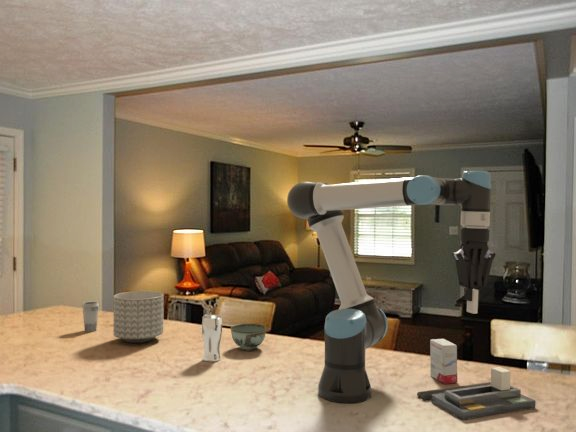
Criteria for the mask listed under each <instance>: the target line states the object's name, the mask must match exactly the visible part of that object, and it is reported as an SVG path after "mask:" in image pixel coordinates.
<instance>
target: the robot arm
mask: <svg viewBox="0 0 576 432" xmlns="http://www.w3.org/2000/svg"><path fill="white" fill-rule="evenodd" d="M491 176H492V175H491V173H490V172H489V171H485V170H466V171H465V170H464V171H463V172H462V175H461V177H458V178H457V177H456V178H443V177H442V178H440V177H434V176H431V175H429V174H420V175H417V176H414V177H412V176H411V177H400V178H399V177H398V178H389V179H379V180H370V181H369V180H367V181H357V182H356V181H355V182H346V183H336V184H329V183H327V182H321V181H320V182H311V181H301V182H299V183H296V184H294V185H293V186H292V187H291V188H290V190H289V192H288V195H287V198H286V199H287V200H286V204H287V207H288V209H289V211H290V212H291V214H293V215H294V216H295V217H296V218H300V219H302V220H306V221H307V224H308V227H309V229H310V230H312V231H313V232H315V233H316V235H317V238H318V242H319V244H320V247H321V250H322V252H323V255H324V259H325V261H326V264H327V266H328V270H329V272H330V277H331V278H332V281H333V284H334V287H335V289H336V292H337V295H338V297H339V301H340V305H339V308H338V309H335V310H332V311H329V313H328V314H327V315H326V316H325V320H324V321H325V322H324V326H323V328H324V366H323V369H322V373H321V376H320V379H319V382H318V384H317V385H318V387H317V388H318V389H317V393H318V395H319V396H320V398H323V399H324V400H328V401H329V402H330V401H331V402H335V403H342V404H355V403H356V404H357V403H361V402H364V401H367V400H369V399H370V398H372V385H371V382H370V379H369V376H368V372H367V370H366V350H367V349H368V348H371V347H372V346H376V345H377V344H378V343H380V342H381V340H383V338H384V337H385V336H386V334H387V332H388V327H389V323H388V318H387V316H386V313H385V312H384V311H383V310H382V309H381V308H379V307H378V305H377V304H376V302H375V301H376V300H375V299H374V297H372V296H371V295H369V294H368V293H367V290H366V288H365V284H364V282H363V280H362V277H361V274H360V271H359V268H358V265H357V263H356V259H355V257H354V255H353V251H352V248H351V246H350V244H349V241H348V239H347V236H346V233H345V230H344V227H343V224H342V222H343V220H344V217H345V215H344V214H343V213H344V212H343V211H344V210H347V211H348V210H360V209H362V210H363V209H376V208H392V207H393V208H394V207H404V206H425V205H427V206H460V208H461V211H460V226H462V227H461V228H460V232H459V233H460V234H459V236H460V237H459V239H460V241H461V244H460V247H459V249H458V250H457V251H456V252H454V251H453V252H452V253H451V254H452V258H453V259H454V261H455V262H454V263H455V268H456V274H457V278H458V284H459V286H460V287H462V288H463V289H464V290H465V295H464V296H465V297H464V298H465V301H466V312H467V313H470V314H478V311H479V310H478V309H479V302H480V300H481V291H482V290H484V288H486V287H488V281H489V279H490V278H489V276H490V273H491V269H492V264H493V261H494V260H495V258H496V255H497V254H496V253H495V252H492V251H491V250H489V245H488V242H490V231H491V230H490V229H489V228H488V227H490V226H491V221H490V220H491V201H492V200H491V199H492V198H491V197H492V180H491V179H492V177H491Z"/></svg>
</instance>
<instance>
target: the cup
mask: <svg viewBox="0 0 576 432" xmlns="http://www.w3.org/2000/svg"><path fill="white" fill-rule="evenodd" d="M81 306H82V314H83V317H82V318H83V325H84V332H86V333H90V332H91V333H92V332H96V331H97V326H98V317H99V306H100V304H99V301H95V300H94V301H92V300H91V301H84V302H83V303H82V304H81Z"/></svg>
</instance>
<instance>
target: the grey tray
mask: <svg viewBox="0 0 576 432" xmlns="http://www.w3.org/2000/svg"><path fill="white" fill-rule="evenodd" d="M521 392H522V391H521V389H519V388H518V387H515V386H513V385H511V384H510V389H509V390H503V391H496V392H491V384H490V385H483V386H475V387H468V388H461V389H454V390H447V391H445V393H439V394H432V395H431V399H430V400H431V403H433V404H434V405H436V406H438V407H440V409H443V410H444V411H446V412H448V413H450V414H451V415H453V416H455V417H456V418H458V419H460V420H462V421H466V420H472V419H478V418H484V416H485V417H490V415H491V416H494V415H495V416H496V415H503V414H505V413H506V414H508V413H513V411H514V412H520V411H525V409H526V410H531V409H530V408H532V409H535V408H536V400H535V399H533V398H530V397H528V396H527V395H524V394H522V393H521ZM519 410H520V411H519ZM507 412H508V413H507Z"/></svg>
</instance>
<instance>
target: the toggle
mask: <svg viewBox="0 0 576 432" xmlns="http://www.w3.org/2000/svg"><path fill="white" fill-rule="evenodd" d="M490 368H491V369H490V382H491V392H496V391H503V390H509V389H510V385H511V371H510V370H509V369H506V368H504V367H501V366H497V367H490Z"/></svg>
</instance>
